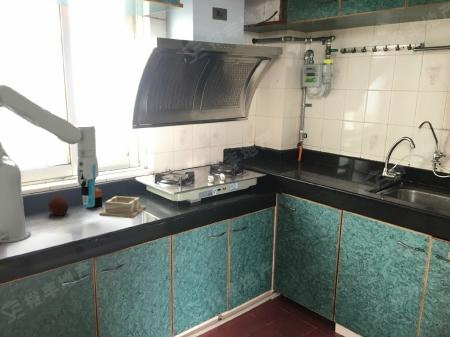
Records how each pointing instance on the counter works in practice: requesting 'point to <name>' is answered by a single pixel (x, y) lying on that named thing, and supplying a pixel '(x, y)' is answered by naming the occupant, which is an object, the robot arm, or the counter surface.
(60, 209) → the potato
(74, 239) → the counter surface
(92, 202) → the tube
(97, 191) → the battery
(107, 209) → the socket block
